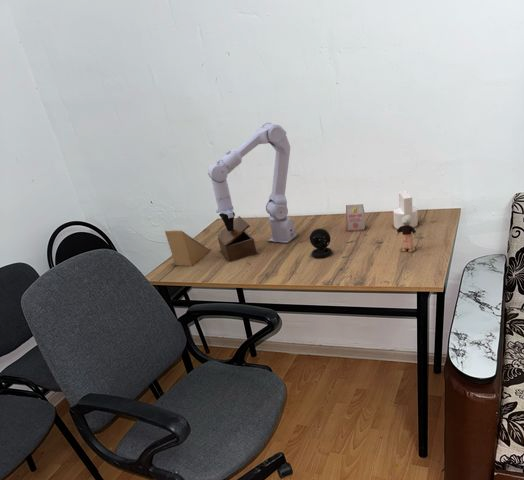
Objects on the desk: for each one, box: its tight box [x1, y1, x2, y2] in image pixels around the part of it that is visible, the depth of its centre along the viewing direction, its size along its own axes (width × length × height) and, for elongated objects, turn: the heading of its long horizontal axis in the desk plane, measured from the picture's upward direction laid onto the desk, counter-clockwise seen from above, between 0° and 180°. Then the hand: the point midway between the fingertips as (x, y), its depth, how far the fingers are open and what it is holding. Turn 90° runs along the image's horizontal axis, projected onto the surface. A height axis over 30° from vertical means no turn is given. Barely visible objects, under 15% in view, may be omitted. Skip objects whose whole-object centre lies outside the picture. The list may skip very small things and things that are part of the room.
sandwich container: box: [164, 229, 211, 267], centre depth 194 cm, size 9×15×15 cm, turn 154°
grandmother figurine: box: [395, 215, 418, 253], centre depth 164 cm, size 8×4×13 cm, turn 65°
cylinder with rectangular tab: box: [393, 190, 419, 230], centre depth 183 cm, size 9×9×12 cm
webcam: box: [309, 228, 333, 259], centre depth 175 cm, size 8×8×10 cm
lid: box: [216, 215, 251, 246], centre depth 189 cm, size 12×14×1 cm
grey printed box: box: [345, 203, 366, 232], centre depth 189 cm, size 4×7×10 cm, turn 70°
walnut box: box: [217, 230, 257, 263], centre depth 192 cm, size 12×14×6 cm
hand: (230, 230), depth 189 cm, fingers closed
